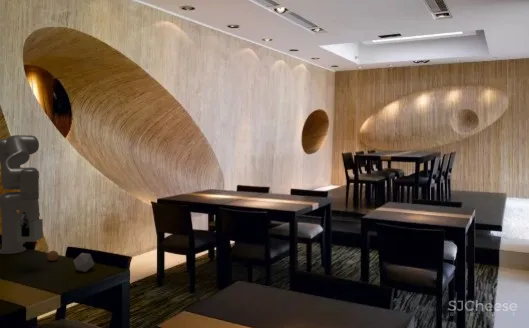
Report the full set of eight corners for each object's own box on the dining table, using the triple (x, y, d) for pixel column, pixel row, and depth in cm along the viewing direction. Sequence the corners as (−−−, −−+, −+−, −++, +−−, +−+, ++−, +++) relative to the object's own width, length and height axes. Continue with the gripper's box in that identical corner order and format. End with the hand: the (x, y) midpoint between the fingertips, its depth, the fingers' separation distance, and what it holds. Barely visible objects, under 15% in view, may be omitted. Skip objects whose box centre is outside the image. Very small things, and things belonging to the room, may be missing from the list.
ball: (50, 259, 220) (49, 249, 220) (60, 259, 220) (60, 249, 220) (45, 262, 215) (45, 252, 215) (55, 262, 215) (55, 252, 215)
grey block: (25, 237, 205) (25, 218, 205) (42, 237, 205) (42, 219, 205) (17, 241, 197) (17, 222, 197) (34, 241, 198) (34, 222, 197)
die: (98, 270, 205) (94, 252, 209) (90, 266, 197) (86, 247, 201) (81, 277, 204) (77, 258, 208) (72, 273, 196) (69, 253, 200)
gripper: (30, 193, 209) (31, 230, 210) (10, 198, 191) (11, 238, 192) (46, 193, 209) (47, 230, 210) (28, 198, 192) (29, 238, 193)
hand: (30, 234), depth 201 cm, fingers closed on grey block, 7 cm apart
